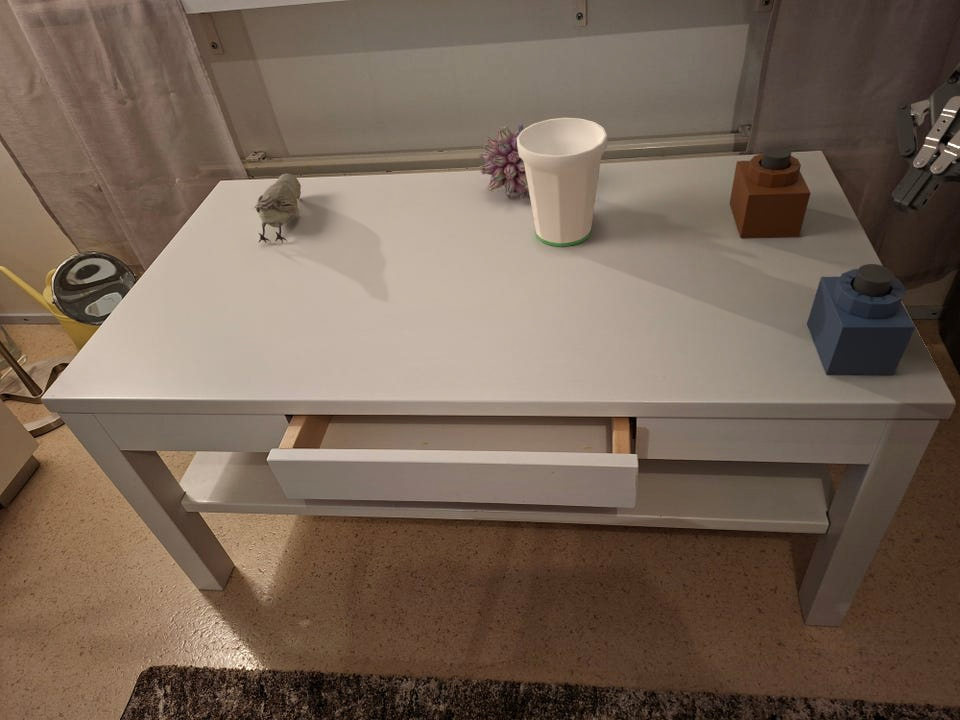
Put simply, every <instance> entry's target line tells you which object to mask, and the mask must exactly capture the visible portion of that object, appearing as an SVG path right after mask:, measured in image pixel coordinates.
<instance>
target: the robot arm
mask: <svg viewBox="0 0 960 720" xmlns="http://www.w3.org/2000/svg"><path fill="white" fill-rule="evenodd" d="M895 111H896V112H895V113H896V123H897V136H898V147H899V149H898V150H899V154H900V157H901V158H902V160H903V163H904V165H905V166H907V167H908V168H909V169H908V171H907V172H906V173H905V175H904V176H903V178H902V179H901V180H900V182H899V183H898V184H897V185H896V187H895V188H894V189H893V191H892V193H891V199H892V203H891V205H892V207H893V209H894V210H895V211H897V212H900V213H903V214H905V215H908V216H911V215H913V213H914V212H917V213H918V212H920V211H921V210H923V209H924V208H925V207H926V206H927V204H928V203H930V200H931V199H932V198H933V197H934V195H935V194H936V193H937V191H938V190H940V188H941V187H942V186H943V185H944V184H946V183H958V184H960V62H959V63H958V64H957V66H956V67H955V68H954V69H953V71H952V73H951V74H950V76H949V78H948V79H947V81H946V82H945V83H944V84H942V85H941V86H940V87H938V88H937V89H935V90H934V91H933V92H931V94H930V96H929V97H928V98H927V99H924V100H920V101H917V102H914V103H911V102H910V101H909V100H902V101H900V102H899V103H897V105H896V109H895ZM927 114H928V127H929V132H928V134H927V136H926V137H925V139H924V143H923V145H922V147H921V148H920V150H919V148H918V147H919V146H918V135H917V127H920V126H921V125H922V124H923V123H924V121H925V117H926V115H927Z"/></svg>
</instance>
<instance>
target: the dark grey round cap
mask: <svg viewBox="0 0 960 720" xmlns="http://www.w3.org/2000/svg"><path fill="white" fill-rule="evenodd" d="M857 269H858V271H857V274H856V277H855V280H854V283H853V289H854V290H855V291H856V292H858V293H860V294H862V295H865V296H869V297H884V296H885V295H887V293H888V291H889V289H890V286H891V284H892V281H893V279H894V277H895V273H894V272H893V271H892V269H890V268H889V267H886V266H884V265H881V264H877V263H867V264H863V265H860V266H859V268H857Z"/></svg>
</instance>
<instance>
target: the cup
mask: <svg viewBox="0 0 960 720" xmlns="http://www.w3.org/2000/svg"><path fill="white" fill-rule="evenodd" d="M523 129H524V130H522V132H521V133H520V134H519V136H518V137H517V147H518V153H519V157H520V158H521V159H522V160H523V161H524V166H525V172H526V177H527V183H528V189H529V194H528V195H529V199H530V205H531V211H532V216H533V221H534V228H535V234H536V237H537V239H538V240H539V241H540V242H541V243H544V244H546V245H549V246H553V247H569V246H570V247H571V246H576V245H577V244H580V243H582V242H584V241H585V240H587V239H588V238H589V236H590V235H591V233H592V226H593V218H594V211H595V203H596V198H597V191H598V184H599V176H600V169H601V164H602V163H601V162H602V156H603V155H604V153H605V151H606V149H607V147H608V134H607V131H606V129H605V128H604V126H602V125H600V124H599V123H597V122H596V121H593V120H589V119H584V118H579V117H578V118H576V117H559V118H557V117H556V118H551V119H545V120H542V121H538V122H535V123H532V124H530V125H529V126H527V127H526V128H523Z"/></svg>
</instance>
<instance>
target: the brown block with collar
mask: <svg viewBox="0 0 960 720" xmlns="http://www.w3.org/2000/svg"><path fill="white" fill-rule="evenodd" d="M762 156H763V152H762V153H760V154H756V155H753V157H752V158H751V159H750V160H738V161H737V160H736V164H735V169H734V175H733V181H732V187H731V191H730V199H729V205H730V208H731V212H732V215H733V219H734V222H735V225H736V229H737V231H738V235H739V238H740V239H760V238H761V239H763V238H764V239H765V238H769V239H770V238H799V237H800V235H801V231H802V227H803V225H804V224H803V223H804V220H805V216H806V212H807V209H808V205H809V201H810V196H811V190H810V189H809V187H808V185H807V182H806V180H805V178H804V177H803V174H802V172H801V167H802V165H801V163H800V160H799V159H798V157H797V158H796V157H794V156H793V155H791V157H790V162H789V166H788V168H787V169H784V170H770V169H765V168H763V167H762V166H761V161H762Z"/></svg>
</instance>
